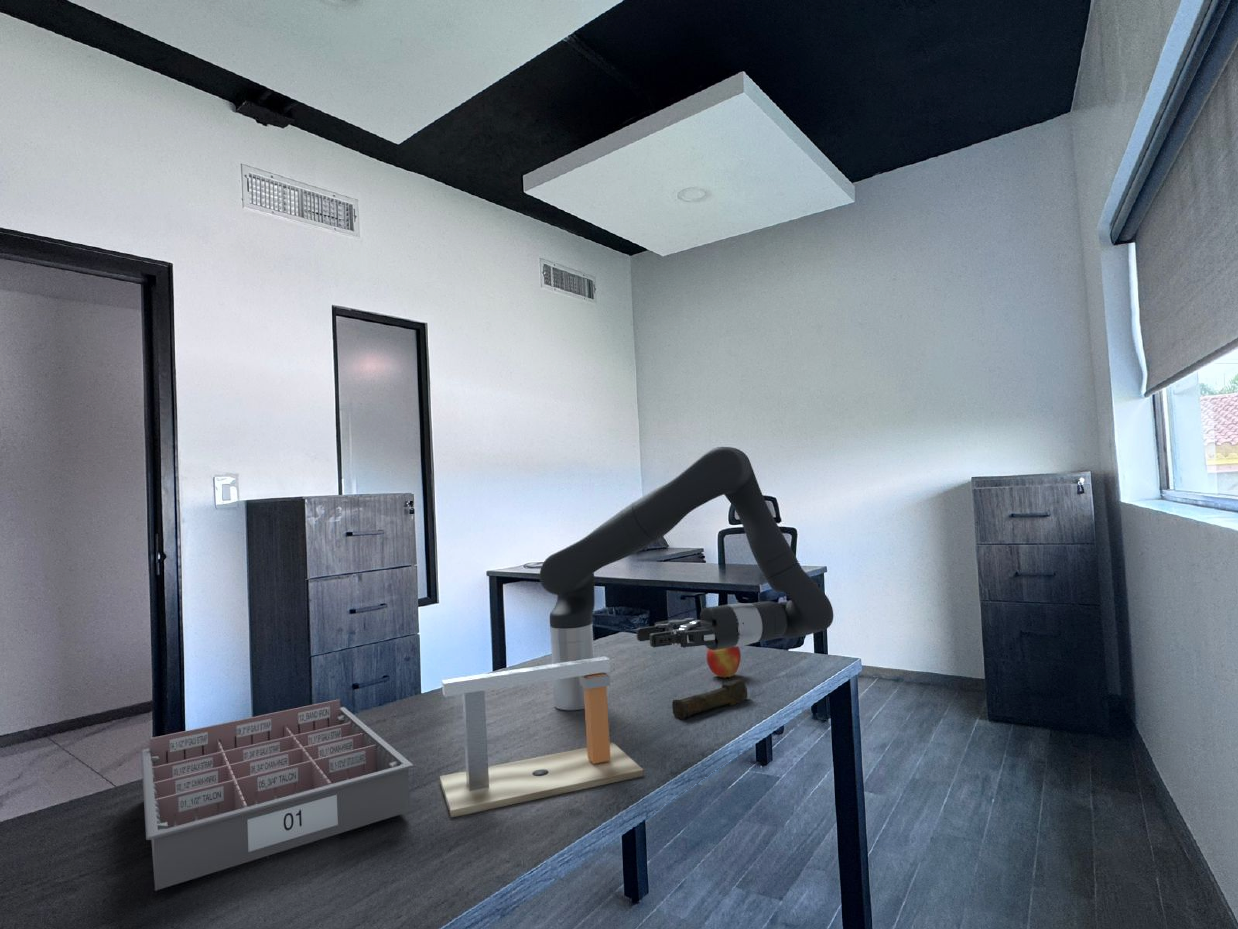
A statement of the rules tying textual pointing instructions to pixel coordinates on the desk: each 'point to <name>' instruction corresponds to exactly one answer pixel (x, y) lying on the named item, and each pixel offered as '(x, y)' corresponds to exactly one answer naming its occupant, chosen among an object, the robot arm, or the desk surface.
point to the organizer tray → (264, 788)
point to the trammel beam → (477, 684)
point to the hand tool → (710, 699)
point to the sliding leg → (596, 716)
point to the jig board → (536, 779)
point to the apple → (724, 661)
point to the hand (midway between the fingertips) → (644, 637)
